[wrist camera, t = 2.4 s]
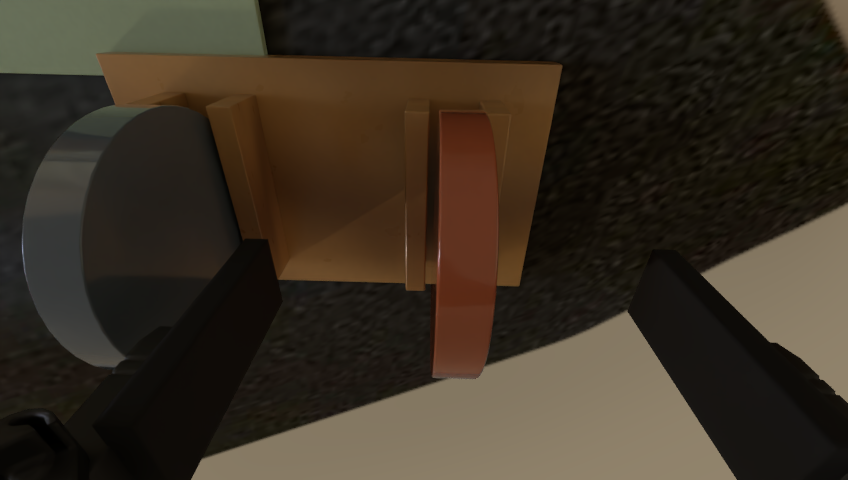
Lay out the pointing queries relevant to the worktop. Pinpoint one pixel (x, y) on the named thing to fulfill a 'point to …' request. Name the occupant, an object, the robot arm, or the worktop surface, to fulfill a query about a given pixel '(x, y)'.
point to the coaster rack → (351, 149)
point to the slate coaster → (125, 226)
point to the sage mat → (121, 31)
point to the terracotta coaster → (463, 244)
